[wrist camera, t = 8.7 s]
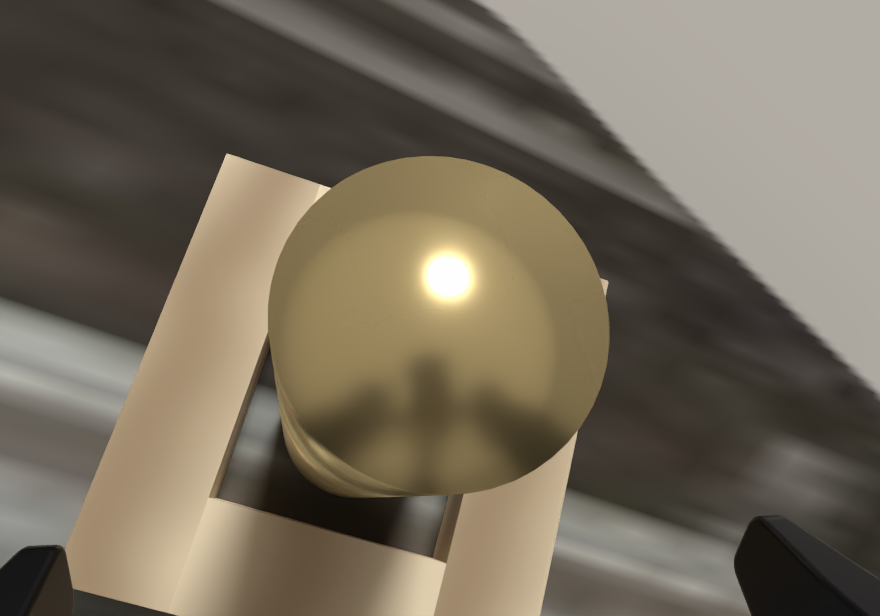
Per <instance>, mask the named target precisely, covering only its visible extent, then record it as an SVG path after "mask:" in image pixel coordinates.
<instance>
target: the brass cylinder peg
mask: <svg viewBox="0 0 880 616" xmlns="http://www.w3.org/2000/svg"><path fill="white" fill-rule="evenodd" d="M268 333H269V341H270V348H271V355H272V361H273V368H274V375H275V381H276V388H277V394H278V401H279V408H280V414H281V421H282V427H283V434H284V440H285V444H286V448H287V451H288V453H289V455H290V458H291V460H292V461H293V463H294V465H295V466H296V468H297V469H298V470H299V471H300V473H301V474H302V475H303V476H304V477H305V478H306V479H307V480H308V481H309V482H311V483H312V484H313V485H315V486H316V487H318V488H319V489H321V490H323V491H325V492H327V493H330V494H333V495H336V496H340V497H345V498H379V497H405V496H431V495H453V494H469V493H474V492H479V491H484V490H489V489H493V488H496V487H499V486H502V485H504V484H507V483H510V482H513V481H515V480H517V479H519V478H521V477H523V476H525V475H527V474H529V473H530V472H532V471H534V470H536V469H537V468H538V467H540V466H541V465H543V464H544V463H545V462H547V461H548V460H550V459H551V458H552V457H553V456H554V455H555V454H556V453H558V452H559V451H560V450H561V449H562V448H563V447H564V446H565V445H566V444H567V443H568V442H569V441H570V439H571V438H572V437H573V436H574V434H575V433H576V432H577V430H578V429H579V428H580V427H581V425H582V424H583V422H584V420H585V419H586V417H587V415H588V414H589V412H590V410H591V408H592V407H593V404H594V402H595V400H596V397H597V395H598V392H599V390H600V388H601V384H602V381H603V377H604V373H605V370H606V365H607V358H608V350H609V318H608V310H607V302H606V298H605V294H604V290H603V286H602V282H601V280H600V277H599V274H598V272H597V269H596V267H595V264H594V262H593V260H592V258H591V256H590V254H589V252H588V250H587V248H586V247H585V245H584V243H583V242H582V240H581V239H580V237H579V236H578V234H577V233H576V231H575V230H574V228H573V227H572V226H571V225H570V224H569V222H568V221H567V220H566V219H565V218H564V217H563V215H562V214H561V213H560V212H559V211H558V210H557V209H556V208H555V207H554V206H553V205H552V204H550V203H549V202H548V201H547V200H546V199H545V198H544V197H543V196H541V195H540V194H539V193H537V192H536V191H534V190H533V189H532V188H530V187H529V186H527V185H526V184H524V183H523V182H521V181H519V180H517V179H515V178H514V177H512V176H510V175H508V174H506V173H504V172H501V171H499V170H496V169H494V168H492V167H489V166H486V165H483V164H479V163H476V162H472V161H469V160H463V159H457V158H451V157H436V156H421V157H410V158H402V159H397V160H393V161H388V162H384V163H381V164H378V165H375V166H372V167H370V168H367V169H364V170H362V171H360V172H358V173H356V174H354V175H352V176H350V177H348V178H346V179H345V180H343V181H342V182H340V183H339V184H337V185H336V186H334V187H333V188H331V189H330V190H329V191H327V192H326V193H325V194H324V195H323V196H322V197H321V198H320V199H318V200H317V201H316V202H315V203H314V204H313V205H312V206H311V207H310V208H309V209H308V211H307V212H306V213H305V214H304V215H303V217H302V218H301V219H300V220H299V221H298V223H297V224H296V226H295V228H294V229H293V231H292V232H291V234H290V236H289V237H288V239H287V240H286V242H285V245H284V247H283V249H282V251H281V254H280V256H279V258H278V260H277V264H276V267H275V271H274V274H273V278H272V281H271V286H270V293H269V301H268Z"/></svg>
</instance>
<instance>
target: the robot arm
mask: <svg viewBox="0 0 880 616" xmlns="http://www.w3.org/2000/svg"><path fill="white" fill-rule="evenodd" d="M734 569H735V573H736V576H737V579H738V582H739V584H740V587H741V590H742V592H743V595H744V598H745V600H746V603H747V605H748V608H749V611H750V613H751V616H880V579H879V578H877V577H876V576H874V575H873V574H871V573H870V572H868V571H867V570H865V569H864V568H862V567H860V566H859V565H857V564H856V563H854V562H853V561H851V560H850V559H848V558H847V557H845V556H844V555H842V554H841V553H839V552H838V551H836V550H835V549H833V548H832V547H830V546H829V545H827V544H826V543H824V542H822V541H821V540H819V539H818V538H816V537H815V536H813V535H812V534H810V533H809V532H807V531H806V530H804V529H803V528H801V527H800V526H798V525H797V524H795V523H794V522H792V521H791V520H789V519H787V518H786V517H783V516H778V515H774V516H757V517H754V518H753V519H752V520H751V521H750V523H749V524H748V527H747V529H746V531H745V533H744V536H743V538H742V540H741V542H740V545H739V547H738V549H737V551H736V554H735V557H734ZM73 605H74V591H73V586H72V581H71V575H70V570H69V565H68V560H67V555H66V551H65V549H64V548H63V547H62V546H60V545H39V546H27V547H25V548H23V549H21V550H20V551H19V552H17V553H16V554H15V555H14V556H13V557H12V558H11V559H10V560H9V561H8V562H7V563H6V564H5V565H4V566H3V567H2V568H0V616H72V612H73Z"/></svg>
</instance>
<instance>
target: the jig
mask: <svg viewBox="0 0 880 616" xmlns="http://www.w3.org/2000/svg"><path fill="white" fill-rule="evenodd" d="M330 189H331V188H329V187H326V186H323V185H320V184H317V183H314V182H311V181H308V180H305V179H302V178H299V177H296V176H293V175H290V174H287V173H284V172H281V171H278V170H275V169H272V168H269V167H266V166H263V165H260V164H257V163H254V162H251V161H248V160H245V159H242V158H239V157H236V156H233V155H230V154H226V157H225V159H224V162H223V164H222V166H221V169H220V171H219V174H218V176H217V179H216V181H215V184H214V186H213V188H212V191H211V193H210V196H209V198H208V201H207V203H206V206H205V208H204V210H203V213H202V215H201V218H200V220H199V223H198V225H197V228H196V230H195V232H194V235H193V237H192V240H191V242H190V245H189V247H188V249H187V252H186V254H185V257H184V259H183V262H182V264H181V267H180V269H179V271H178V274H177V276H176V279H175V281H174V284H173V286H172V289H171V291H170V293H169V296H168V298H167V301H166V303H165V306H164V308H163V311H162V313H161V315H160V318H159V320H158V323H157V325H156V328H155V330H154V333H153V335H152V337H151V340H150V342H149V345H148V347H147V350H146V352H145V354H144V357H143V359H142V362H141V364H140V367H139V369H138V372H137V374H136V376H135V379H134V381H133V384H132V386H131V389H130V391H129V394H128V396H127V398H126V401H125V403H124V406H123V408H122V411H121V413H120V416H119V418H118V420H117V423H116V425H115V428H114V430H113V433H112V435H111V438H110V440H109V442H108V445H107V447H106V450H105V452H104V455H103V457H102V459H101V462H100V464H99V467H98V469H97V472H96V474H95V477H94V479H93V481H92V484H91V486H90V489H89V491H88V494H87V496H86V499H85V501H84V503H83V506H82V508H81V511H80V513H79V516H78V518H77V521H76V523H75V525H74V528H73V530H72V533H71V535H70V538H69V540H68V543H67V545H66V547H65V551H66V555H67V560H68V565H69V570H70V575H71V581H72V586H73V589H76V590H80V591H84V592H88V593H92V594H96V595H100V596H104V597H107V598H111V599H115V600H119V601H123V602H127V603H131V604H135V605H139V606H142V607H146V608H150V609H154V610H158V611H162V612H166V613H170V614H174V615H177V616H540V612H541V607H542V602H543V598H544V593H545V588H546V583H547V578H548V573H549V568H550V564H551V559H552V554H553V549H554V544H555V539H556V534H557V529H558V525H559V520H560V515H561V510H562V505H563V500H564V495H565V490H566V486H567V481H568V476H569V471H570V466H571V461H572V456H573V451H574V447H575V442H576V437H577V432H578V430H577V432H576V433H575V434H574V436H573V437H572V438H571V439H570V441H569V442H568V443H567V444H566V445H565V446H564V447H563V448H562V449H561V450H560V451H559V452H558V453H556V454H555V455H554V456H553V457H552V458H551V459H550V460H548V461H547V462H545V463H544V464H543V465H541V466H540V467H538V468H537V469H536V470H534V471H532V472H530V473H529V474H527V475H525V476H523V477H521V478H519V479H517V480H515V481H513V482H510V483H507V484H504V485H502V486H499V487H496V488H493V489H489V490H484V491H479V492H474V493H469V494H453V495H448V499H447V503H446V507H445V511H444V515H443V518H442V522H441V526H440V530H439V534H438V538H437V542H436V546H435V550H434V554H433V558H431V557H427V556H424V555H420V554H416V553H413V552H409V551H406V550H402V549H398V548H395V547H391V546H388V545H384V544H380V543H377V542H373V541H370V540H366V539H362V538H359V537H355V536H352V535H348V534H344V533H341V532H337V531H334V530H330V529H326V528H323V527H319V526H316V525H312V524H308V523H305V522H301V521H298V520H294V519H290V518H287V517H283V516H280V515H276V514H272V513H269V512H265V511H262V510H258V509H255V508H251V507H247V506H244V505H240V504H237V503H233V502H229V501H226V500H222V499H219V498H217V495H218V493H219V490H220V487H221V484H222V481H223V478H224V476H225V473H226V470H227V467H228V464H229V461H230V459H231V456H232V453H233V450H234V447H235V445H236V442H237V439H238V436H239V433H240V430H241V428H242V425H243V422H244V419H245V416H246V413H247V411H248V408H249V405H250V402H251V399H252V396H253V394H254V391H255V388H256V385H257V382H258V379H259V377H260V374H261V371H262V368H263V365H264V362H265V360H266V357H267V354H268V351H269V348H270V341H269V333H268V301H269V293H270V286H271V281H272V278H273V274H274V271H275V267H276V264H277V260H278V258H279V256H280V254H281V251H282V249H283V247H284V245H285V242H286V240H287V239H288V237H289V236H290V234H291V232H292V231H293V229H294V228H295V226H296V224H297V223H298V221H299V220H300V219H301V218H302V217H303V215H304V214H305V213H306V212H307V211H308V209H309V208H310V207H311V206H312V205H313V204H314V203H315V202H316V201H317V200H318V199H320V198H321V197H322V196H323V195H324V194H325V193H326V192H327V191H329V190H330ZM600 280H601V282H602V286H603V290H604V294H605V295H606V291H607V286H608V281H607V280H604V279H601V278H600Z"/></svg>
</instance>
